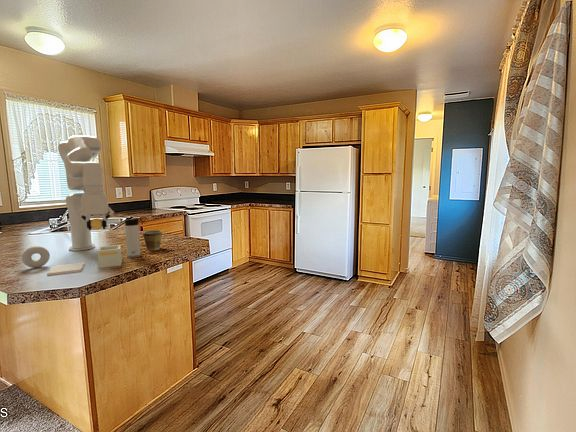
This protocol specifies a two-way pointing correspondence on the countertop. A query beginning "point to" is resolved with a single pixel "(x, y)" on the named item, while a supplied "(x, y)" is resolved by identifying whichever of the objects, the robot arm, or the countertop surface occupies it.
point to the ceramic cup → (152, 239)
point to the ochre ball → (96, 224)
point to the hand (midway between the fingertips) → (97, 228)
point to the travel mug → (132, 238)
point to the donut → (33, 250)
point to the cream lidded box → (109, 256)
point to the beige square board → (66, 268)
